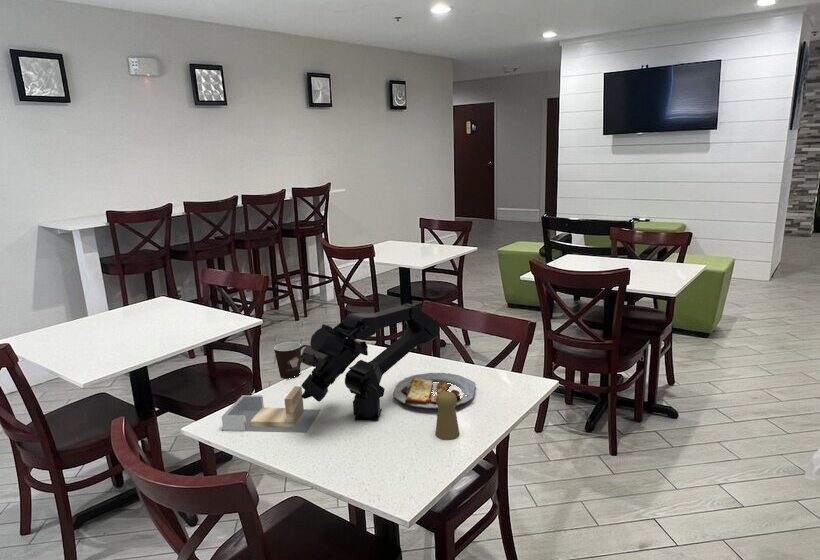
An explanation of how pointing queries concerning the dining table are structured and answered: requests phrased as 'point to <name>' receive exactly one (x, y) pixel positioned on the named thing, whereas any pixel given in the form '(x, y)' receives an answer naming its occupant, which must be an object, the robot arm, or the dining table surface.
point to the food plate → (420, 387)
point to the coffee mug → (288, 359)
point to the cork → (446, 416)
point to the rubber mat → (299, 428)
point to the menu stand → (282, 412)
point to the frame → (241, 412)
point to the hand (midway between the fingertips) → (303, 397)
